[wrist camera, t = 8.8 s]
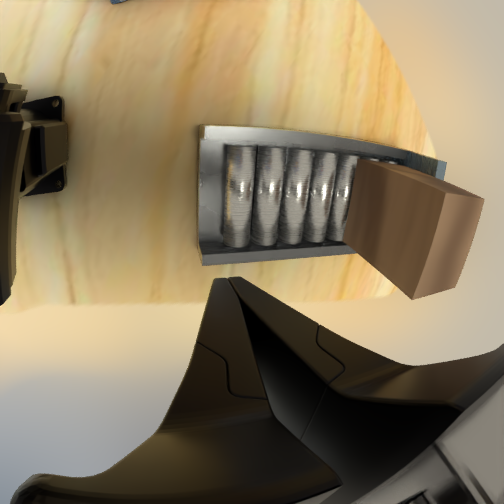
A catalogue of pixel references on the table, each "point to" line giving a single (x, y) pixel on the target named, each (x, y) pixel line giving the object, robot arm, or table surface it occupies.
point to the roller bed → (218, 183)
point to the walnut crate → (411, 226)
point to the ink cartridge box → (116, 1)
